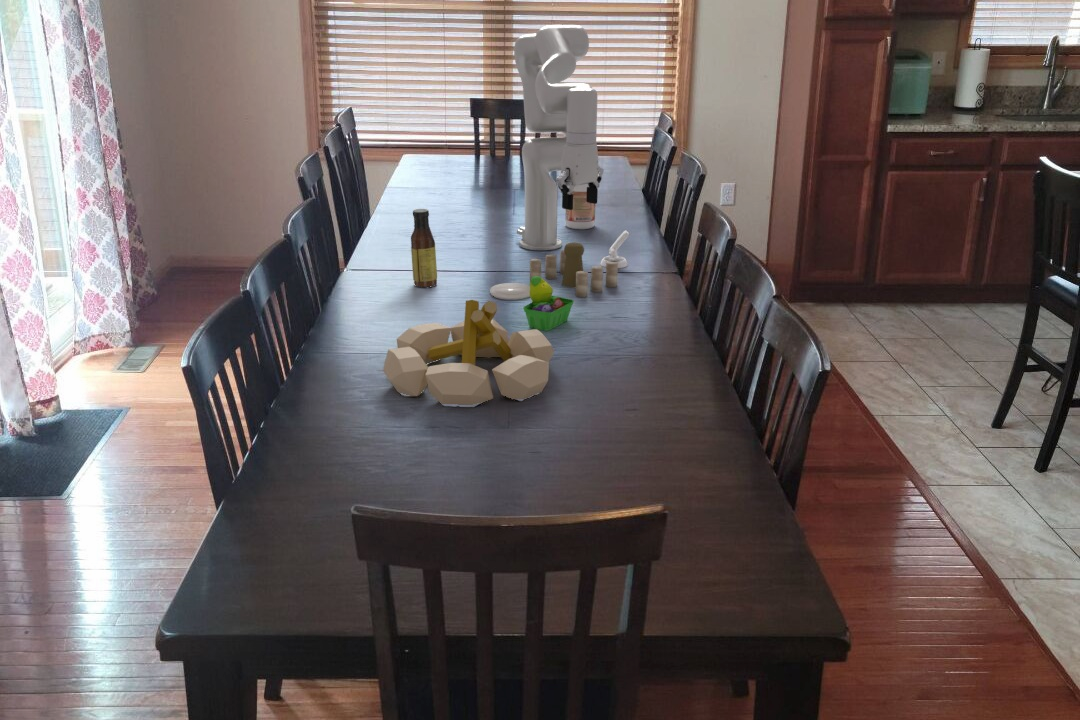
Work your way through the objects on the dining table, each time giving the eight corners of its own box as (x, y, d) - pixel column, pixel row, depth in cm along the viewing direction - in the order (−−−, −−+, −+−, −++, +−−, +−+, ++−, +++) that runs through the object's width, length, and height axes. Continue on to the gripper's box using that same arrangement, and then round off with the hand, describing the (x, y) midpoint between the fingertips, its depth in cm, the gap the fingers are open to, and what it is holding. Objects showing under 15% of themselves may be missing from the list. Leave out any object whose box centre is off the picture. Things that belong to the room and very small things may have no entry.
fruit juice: (559, 225, 333) (560, 137, 323) (579, 221, 339) (581, 133, 329) (580, 231, 327) (582, 141, 317) (600, 226, 333) (603, 137, 323)
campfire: (550, 415, 199) (551, 331, 193) (372, 410, 200) (368, 326, 194) (555, 349, 231) (556, 275, 225) (403, 346, 233) (400, 272, 226)
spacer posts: (527, 282, 277) (527, 260, 274) (565, 270, 287) (565, 249, 285) (582, 298, 265) (582, 275, 262) (619, 285, 275) (620, 263, 273)
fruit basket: (549, 334, 240) (550, 287, 236) (517, 327, 244) (517, 280, 240) (574, 320, 249) (575, 274, 245) (543, 313, 253) (543, 268, 249)
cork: (587, 282, 278) (588, 241, 274) (580, 288, 272) (581, 247, 268) (565, 279, 279) (566, 239, 275) (558, 285, 274) (559, 245, 270)
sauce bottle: (441, 283, 275) (439, 209, 268) (429, 290, 270) (427, 214, 262) (420, 280, 277) (417, 206, 270) (407, 286, 272) (405, 211, 265)
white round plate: (481, 293, 268) (481, 288, 267) (511, 284, 275) (511, 279, 275) (512, 302, 261) (512, 298, 260) (542, 293, 268) (542, 288, 268)
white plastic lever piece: (647, 250, 288) (627, 238, 285) (619, 282, 292) (600, 270, 290) (642, 238, 294) (623, 225, 291) (615, 269, 299) (596, 257, 296)
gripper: (591, 133, 271) (589, 198, 277) (547, 140, 258) (546, 209, 265) (614, 136, 266) (612, 202, 272) (570, 144, 254) (569, 214, 260)
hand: (579, 206), depth 268 cm, fingers open, 9 cm apart
